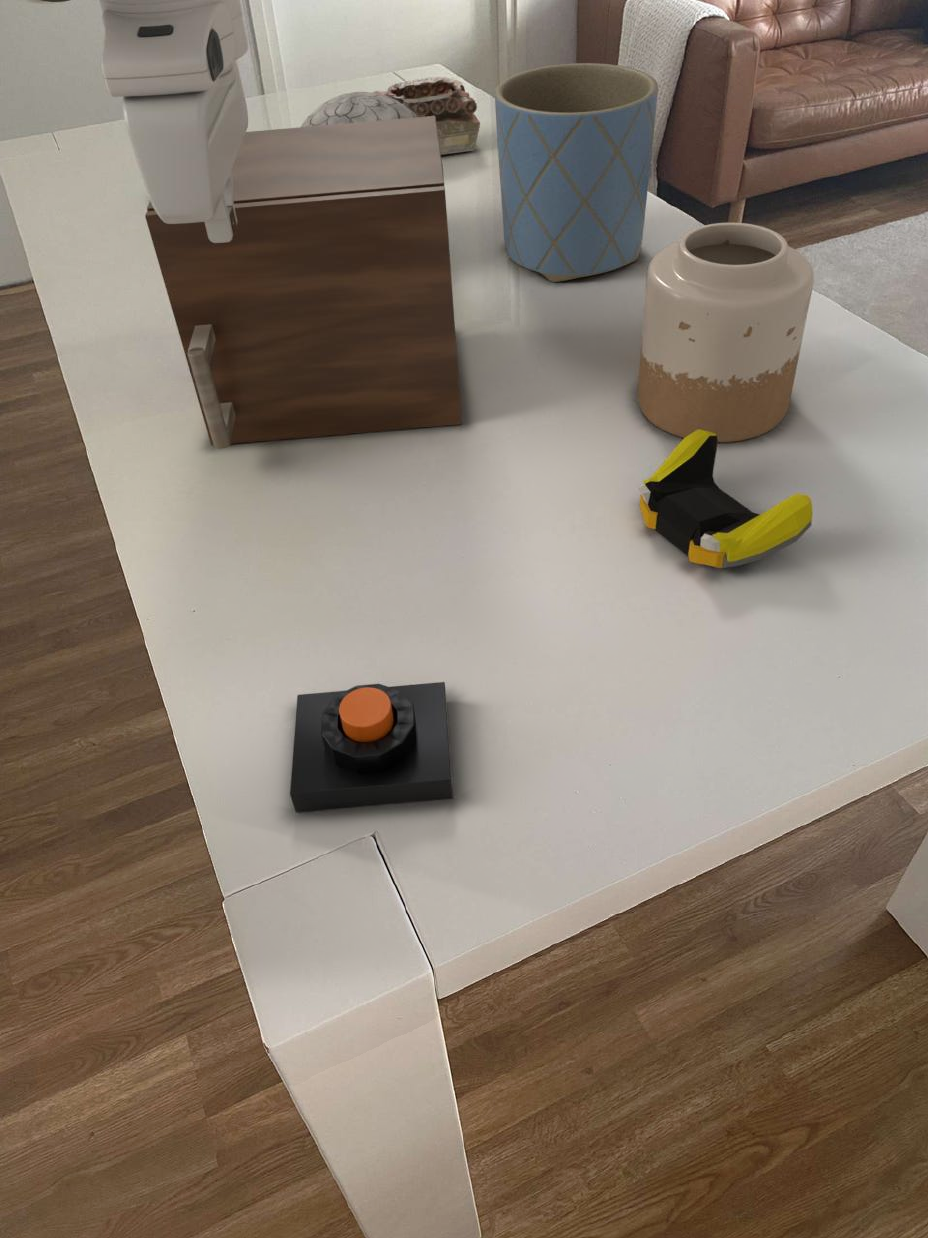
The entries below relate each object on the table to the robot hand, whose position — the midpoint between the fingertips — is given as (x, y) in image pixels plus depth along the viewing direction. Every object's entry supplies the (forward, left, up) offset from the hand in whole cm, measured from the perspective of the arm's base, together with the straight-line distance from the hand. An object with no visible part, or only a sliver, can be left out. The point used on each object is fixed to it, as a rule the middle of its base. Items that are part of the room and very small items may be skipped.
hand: (224, 234), depth 74 cm
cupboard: (+4, +22, -26) cm, 34 cm away
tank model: (+15, +90, -27) cm, 95 cm away
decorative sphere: (+8, +54, -26) cm, 60 cm away
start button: (+8, -30, -23) cm, 39 cm away
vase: (+43, +12, -26) cm, 52 cm away
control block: (+8, -30, -26) cm, 41 cm away
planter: (+34, +50, -26) cm, 66 cm away
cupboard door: (+4, +9, -26) cm, 28 cm away
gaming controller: (+38, -8, -26) cm, 47 cm away
